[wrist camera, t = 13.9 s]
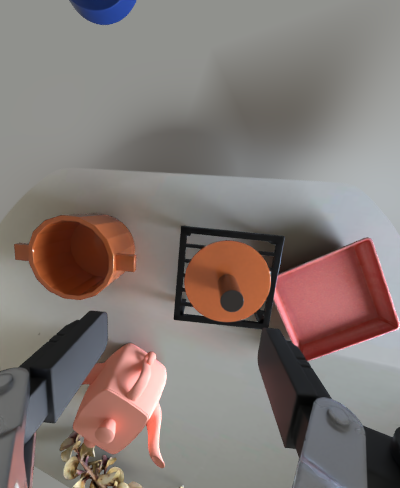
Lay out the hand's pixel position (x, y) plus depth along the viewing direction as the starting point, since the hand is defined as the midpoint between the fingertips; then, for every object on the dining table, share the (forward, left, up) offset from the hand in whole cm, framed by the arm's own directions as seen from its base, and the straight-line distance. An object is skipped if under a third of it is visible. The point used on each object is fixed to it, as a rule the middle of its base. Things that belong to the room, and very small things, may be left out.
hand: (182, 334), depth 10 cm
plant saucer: (+8, +24, -26) cm, 36 cm away
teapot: (+28, -11, -26) cm, 40 cm away
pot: (+3, -18, -26) cm, 32 cm away
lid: (+5, +5, -20) cm, 22 cm away
